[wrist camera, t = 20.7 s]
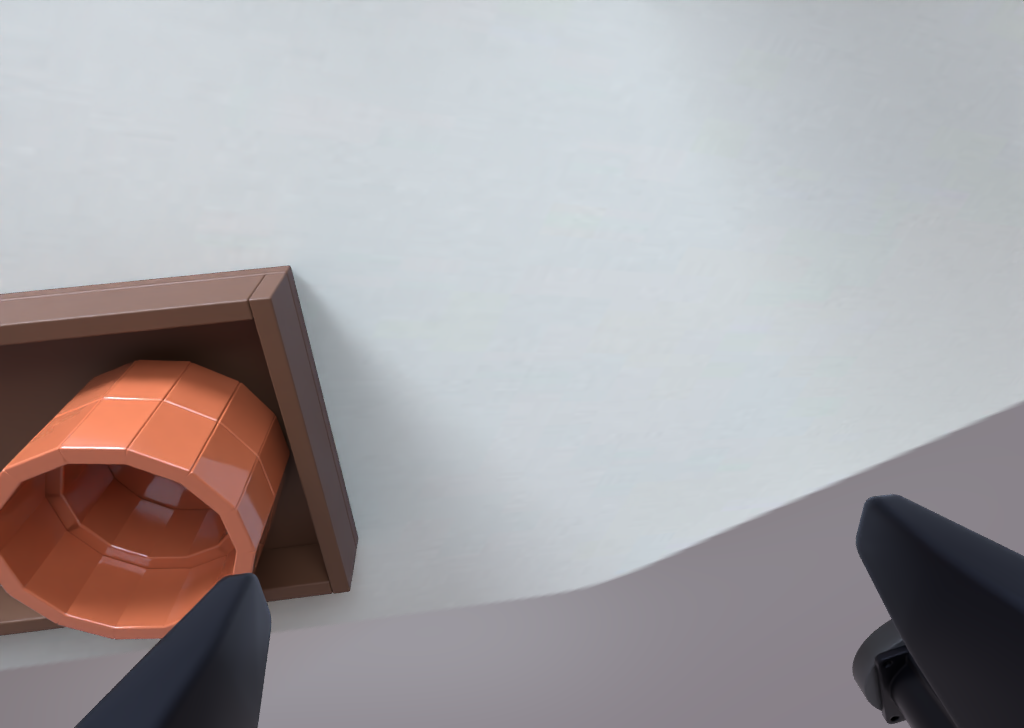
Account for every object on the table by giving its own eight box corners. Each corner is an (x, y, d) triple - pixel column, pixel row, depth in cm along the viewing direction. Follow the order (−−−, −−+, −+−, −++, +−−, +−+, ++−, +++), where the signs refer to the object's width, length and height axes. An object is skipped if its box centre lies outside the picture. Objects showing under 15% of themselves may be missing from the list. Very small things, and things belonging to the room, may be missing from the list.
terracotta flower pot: (329, 480, 22) (301, 592, 18) (157, 543, 23) (90, 668, 18) (221, 320, 19) (156, 408, 15) (26, 399, 20) (-93, 506, 15)
